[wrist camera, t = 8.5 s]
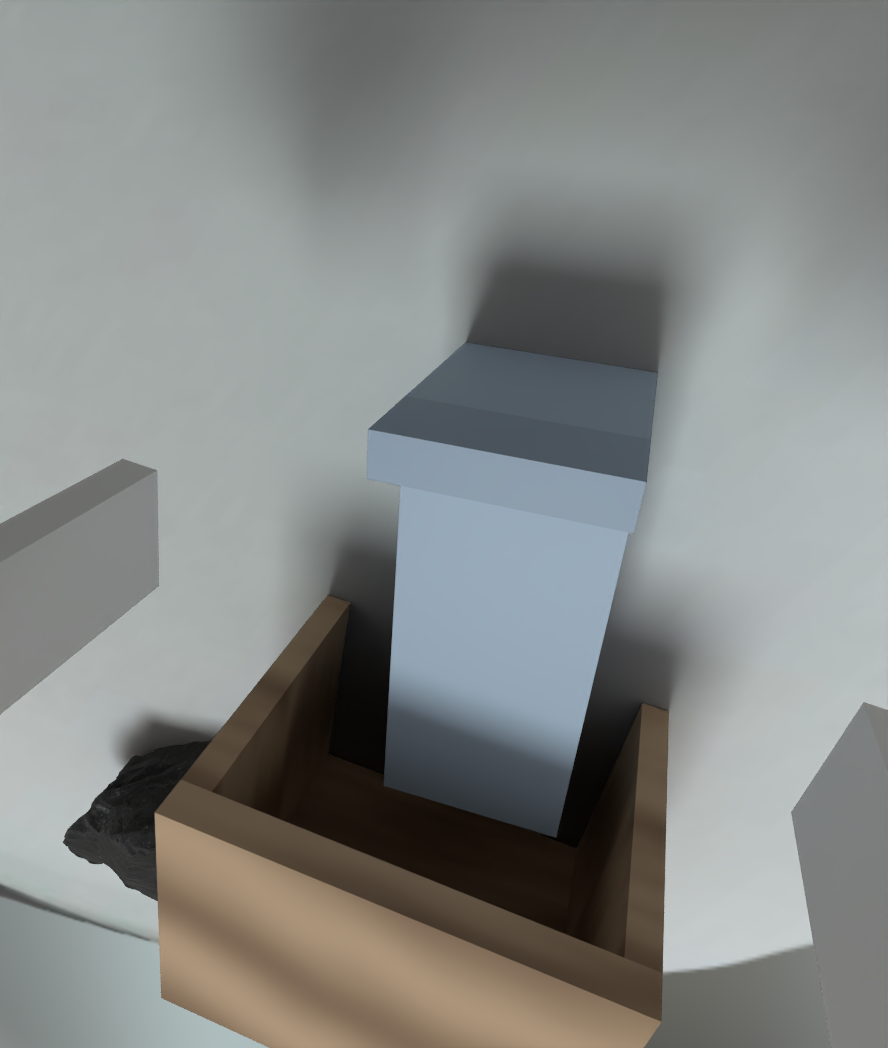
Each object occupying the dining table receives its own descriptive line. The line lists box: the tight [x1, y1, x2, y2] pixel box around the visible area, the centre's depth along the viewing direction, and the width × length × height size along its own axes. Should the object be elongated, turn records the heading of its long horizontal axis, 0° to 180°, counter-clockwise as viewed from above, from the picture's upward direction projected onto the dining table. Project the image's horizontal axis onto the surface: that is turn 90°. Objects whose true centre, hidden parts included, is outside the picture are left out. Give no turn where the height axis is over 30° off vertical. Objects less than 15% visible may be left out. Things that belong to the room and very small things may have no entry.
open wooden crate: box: [155, 595, 669, 1048], centre depth 26 cm, size 10×14×11 cm
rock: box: [63, 742, 210, 901], centre depth 34 cm, size 10×9×6 cm
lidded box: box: [367, 343, 658, 838], centre depth 22 cm, size 14×6×8 cm, turn 176°
